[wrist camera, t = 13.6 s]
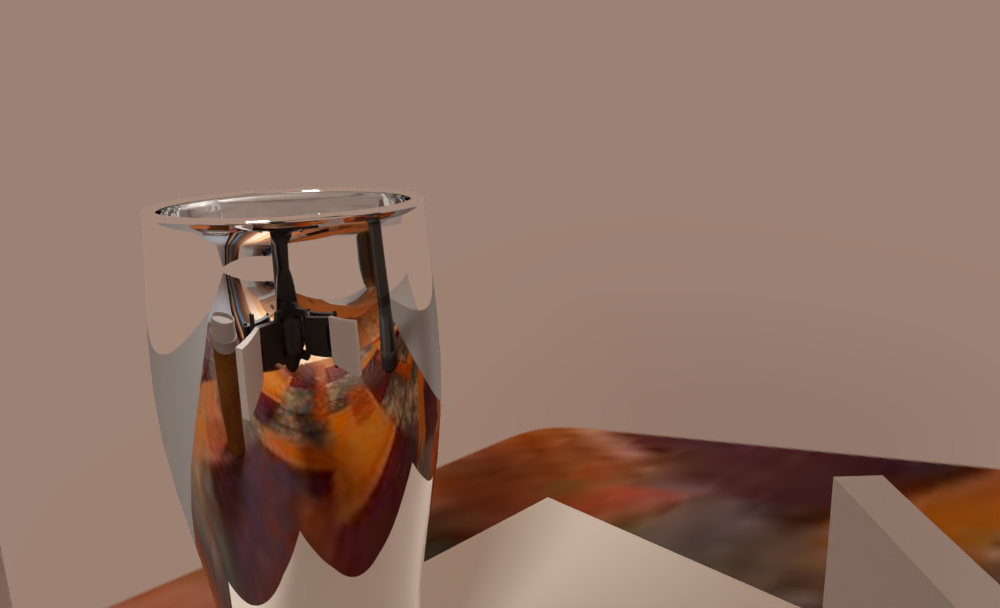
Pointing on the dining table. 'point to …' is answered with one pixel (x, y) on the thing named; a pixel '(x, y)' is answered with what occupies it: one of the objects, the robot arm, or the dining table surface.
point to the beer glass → (298, 389)
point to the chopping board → (575, 569)
